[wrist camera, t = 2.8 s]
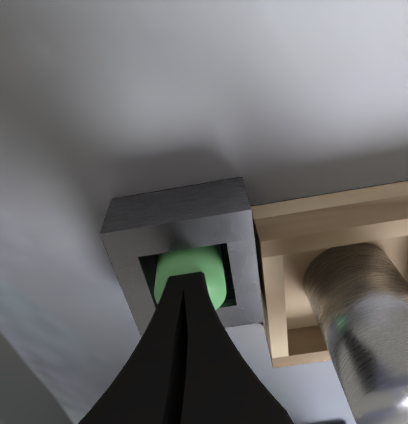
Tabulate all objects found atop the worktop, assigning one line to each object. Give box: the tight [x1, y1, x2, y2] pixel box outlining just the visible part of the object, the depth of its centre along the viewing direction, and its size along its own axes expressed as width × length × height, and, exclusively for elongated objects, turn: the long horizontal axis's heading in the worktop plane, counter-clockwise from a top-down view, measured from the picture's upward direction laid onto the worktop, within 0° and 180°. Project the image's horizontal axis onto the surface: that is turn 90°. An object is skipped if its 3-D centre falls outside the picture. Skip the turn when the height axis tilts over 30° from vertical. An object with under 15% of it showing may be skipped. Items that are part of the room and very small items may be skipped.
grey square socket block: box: [100, 177, 264, 337], centre depth 15 cm, size 6×6×2 cm
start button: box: [154, 244, 226, 310], centre depth 15 cm, size 3×3×3 cm
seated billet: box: [303, 242, 408, 424], centre depth 14 cm, size 4×4×6 cm
